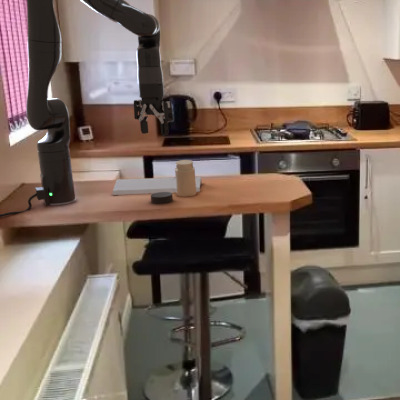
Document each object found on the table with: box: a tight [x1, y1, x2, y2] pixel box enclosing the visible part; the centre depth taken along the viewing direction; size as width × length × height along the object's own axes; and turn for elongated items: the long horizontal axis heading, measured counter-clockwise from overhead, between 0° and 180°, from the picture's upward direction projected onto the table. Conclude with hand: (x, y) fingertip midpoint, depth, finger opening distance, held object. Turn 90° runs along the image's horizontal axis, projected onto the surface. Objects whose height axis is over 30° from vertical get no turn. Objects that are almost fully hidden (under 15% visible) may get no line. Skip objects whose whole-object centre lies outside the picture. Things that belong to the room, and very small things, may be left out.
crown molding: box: [112, 176, 203, 196], centre depth 209 cm, size 29×12×4 cm, turn 97°
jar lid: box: [150, 192, 174, 205], centre depth 192 cm, size 7×7×2 cm
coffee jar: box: [174, 159, 197, 197], centre depth 200 cm, size 6×6×11 cm
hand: (154, 134), depth 187 cm, fingers open, 8 cm apart
